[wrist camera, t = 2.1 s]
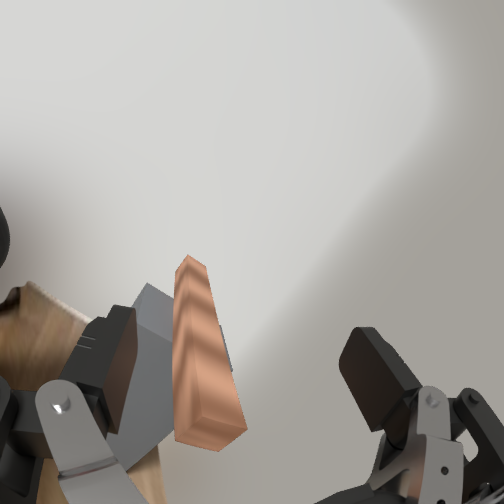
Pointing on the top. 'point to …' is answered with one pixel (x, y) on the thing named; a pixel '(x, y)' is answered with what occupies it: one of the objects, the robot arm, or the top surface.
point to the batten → (201, 366)
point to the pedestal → (149, 381)
